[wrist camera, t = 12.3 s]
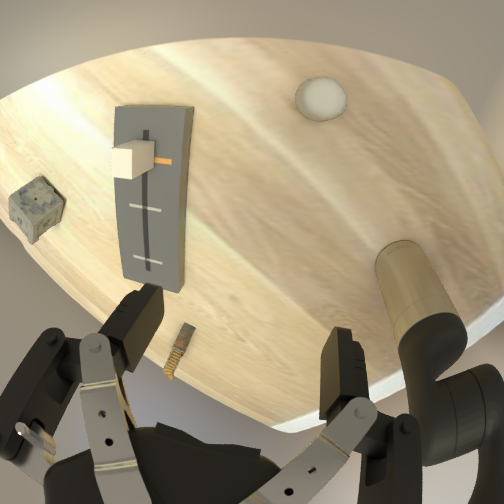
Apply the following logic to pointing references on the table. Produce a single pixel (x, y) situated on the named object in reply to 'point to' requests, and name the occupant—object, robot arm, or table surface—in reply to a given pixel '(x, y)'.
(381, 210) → the table surface
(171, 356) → the rusty notched block
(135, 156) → the fader knob
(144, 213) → the fader console
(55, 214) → the incense holder
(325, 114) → the salt shaker
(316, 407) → the table surface
